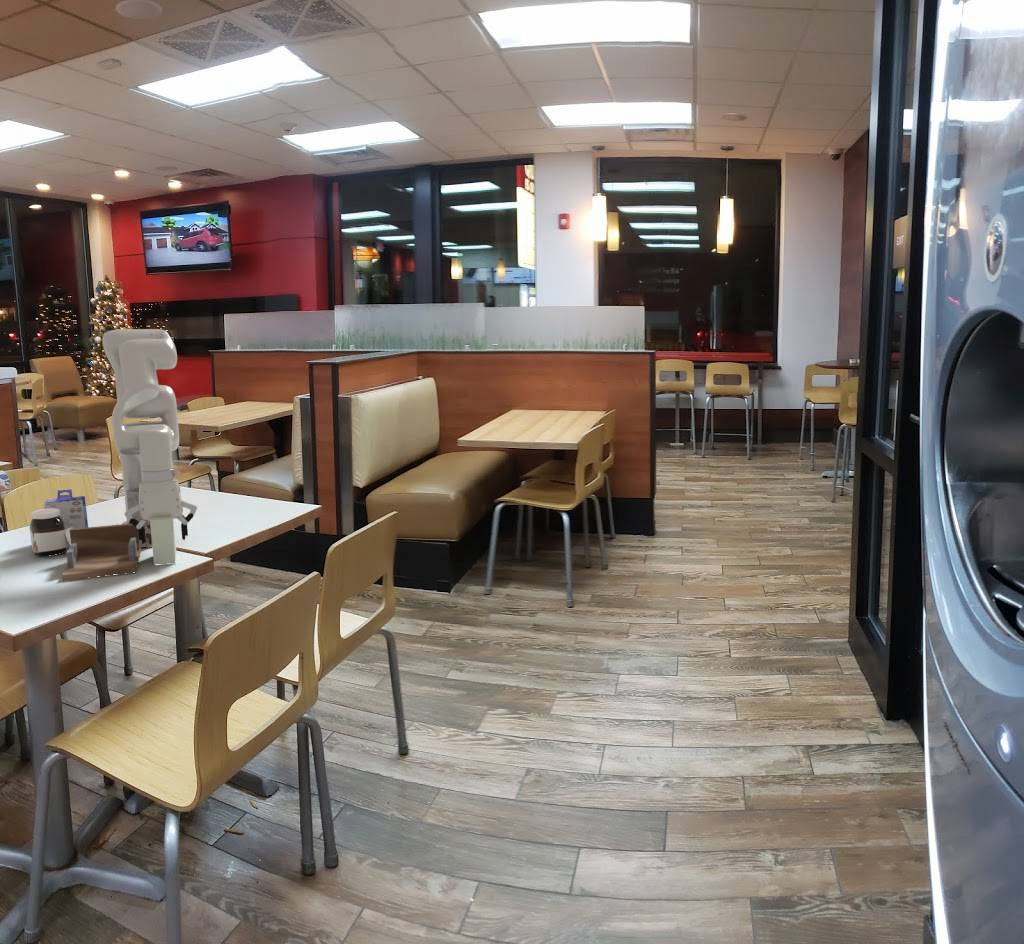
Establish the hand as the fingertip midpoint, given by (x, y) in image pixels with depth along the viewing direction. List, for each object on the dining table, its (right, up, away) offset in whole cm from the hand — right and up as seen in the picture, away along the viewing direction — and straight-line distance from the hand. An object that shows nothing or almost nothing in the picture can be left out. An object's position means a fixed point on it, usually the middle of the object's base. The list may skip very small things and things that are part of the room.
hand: (164, 540), depth 210 cm
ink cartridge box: (-36, -2, +20) cm, 41 cm away
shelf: (-13, -6, -5) cm, 16 cm away
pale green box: (0, -5, +1) cm, 5 cm away
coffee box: (-11, -2, +16) cm, 20 cm away
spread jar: (-32, -4, +8) cm, 34 cm away
